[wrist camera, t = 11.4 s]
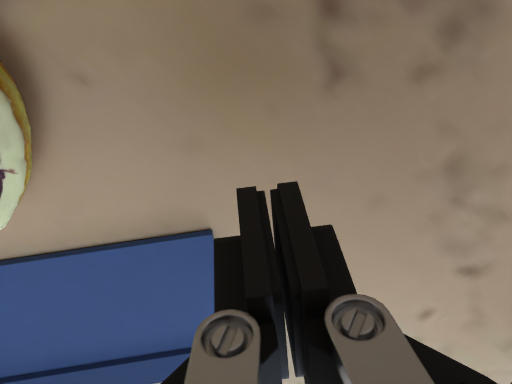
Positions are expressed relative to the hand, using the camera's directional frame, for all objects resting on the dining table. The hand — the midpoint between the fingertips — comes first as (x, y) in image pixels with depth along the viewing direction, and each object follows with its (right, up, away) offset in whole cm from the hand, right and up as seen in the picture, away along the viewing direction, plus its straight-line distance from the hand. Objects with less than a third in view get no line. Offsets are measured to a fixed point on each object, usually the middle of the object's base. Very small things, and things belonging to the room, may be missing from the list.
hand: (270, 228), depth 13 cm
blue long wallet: (-12, -7, +13) cm, 19 cm away
